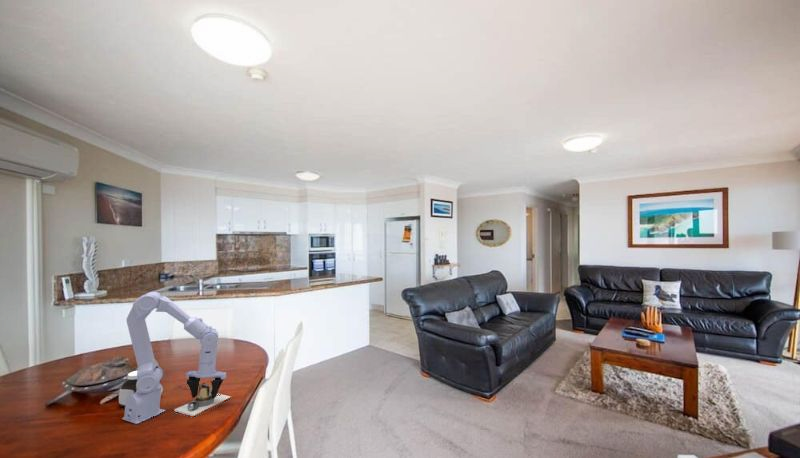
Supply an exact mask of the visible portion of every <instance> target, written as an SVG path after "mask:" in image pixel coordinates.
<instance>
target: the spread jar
mask: <svg viewBox="0 0 800 458" xmlns="http://www.w3.org/2000/svg"><path fill="white" fill-rule="evenodd" d="M126 378H127V379H126V380H125V381H124V382H123V383H122V384H121V386H120V388H119V393H118V403H119V405H120V406H122V407H123V408H125V405H126V400H127V398H128V397H129V396H131V395H133V394H134V393H135V392H136V391H137V388H136V383H137V380H138V378H137V370H133V371H131V372H129V373H127V377H126ZM163 390H164V388H163V387H162V388H161V394H162V393H163Z"/></svg>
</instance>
